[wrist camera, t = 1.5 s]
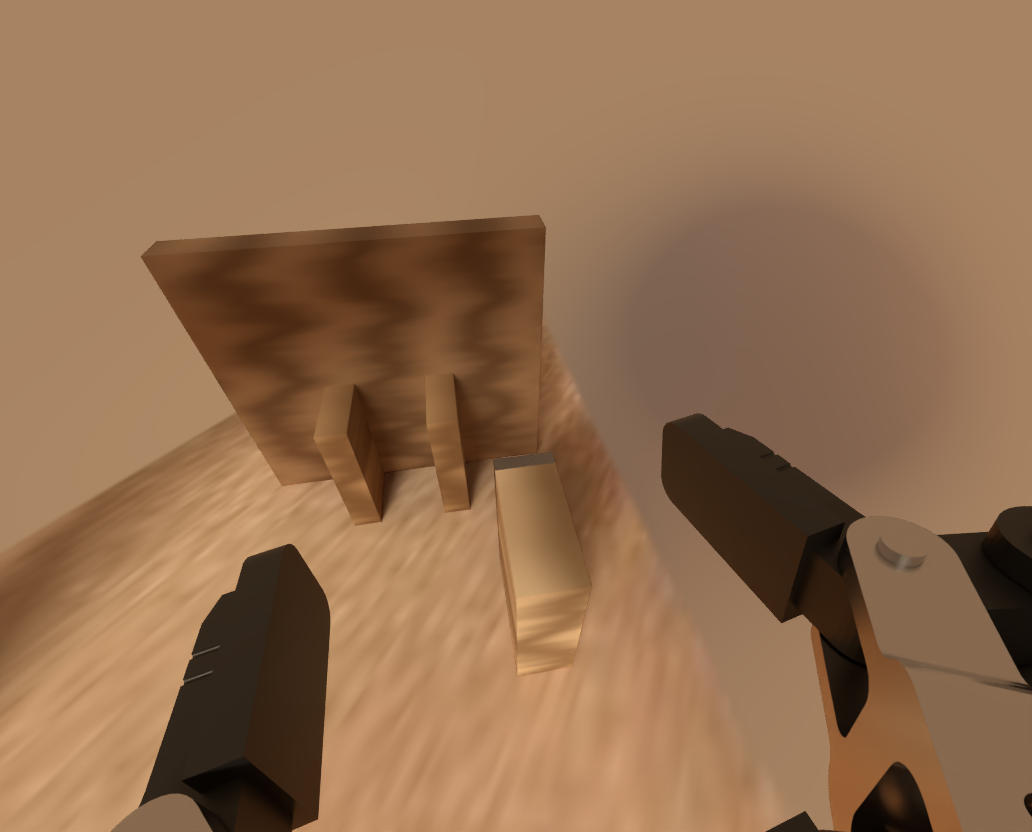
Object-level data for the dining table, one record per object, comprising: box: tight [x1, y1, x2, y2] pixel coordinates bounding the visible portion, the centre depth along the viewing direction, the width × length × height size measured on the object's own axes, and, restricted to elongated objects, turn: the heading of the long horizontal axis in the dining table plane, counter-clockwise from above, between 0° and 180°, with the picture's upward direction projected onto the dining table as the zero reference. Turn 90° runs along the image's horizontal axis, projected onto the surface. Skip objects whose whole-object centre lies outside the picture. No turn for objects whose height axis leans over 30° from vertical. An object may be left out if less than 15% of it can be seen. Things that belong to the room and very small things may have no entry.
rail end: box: [493, 452, 592, 676], centre depth 26 cm, size 3×8×11 cm, turn 9°
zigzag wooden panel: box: [141, 215, 546, 525], centre depth 31 cm, size 22×7×20 cm, turn 99°
